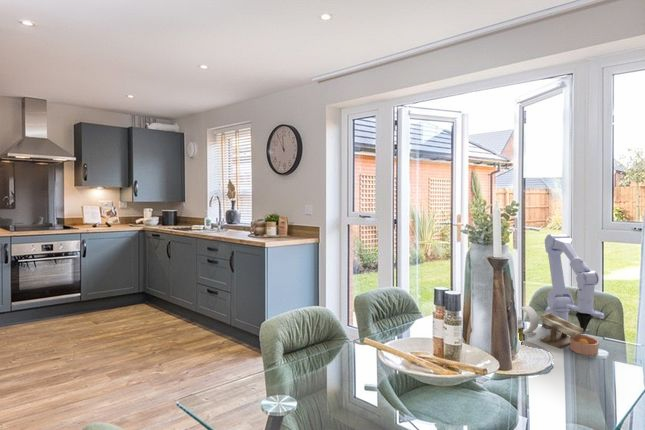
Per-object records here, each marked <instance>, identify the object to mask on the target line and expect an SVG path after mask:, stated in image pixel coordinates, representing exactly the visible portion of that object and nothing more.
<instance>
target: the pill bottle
mask: <svg viewBox="0 0 645 430" xmlns="http://www.w3.org/2000/svg"><path fill="white" fill-rule="evenodd" d="M517 317H518V333H519V340H520V341H522V340H524V339H523V338H524V334H523V330H524V325H523V322H522V321H523V319H522V318H521V317H520V316H517ZM522 342H523V341H522Z"/></svg>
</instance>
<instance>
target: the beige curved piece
mask: <svg viewBox="0 0 645 430" xmlns="http://www.w3.org/2000/svg"><path fill="white" fill-rule="evenodd" d="M539 320H541V328H544V329H545V330H547V331H549V330H551V326H554V327H557V331H558V330H559V332H560V333H561V332H563V333H565V334H567V336H569V337H570V336H571V337H573V338H574V337H577V336H579V335H586V334H587V333H589V332H590V329H589V328H586V330H585V331H583V328H581V327H580V325H579V326H578V325H576V324H574V323H572V322H570V321H569V320H568V321H566V320H564V319H562V318H559V317H557V316H555V315H553V314H552V313H551V312H548V313H546V314H545V313H543V314H541V315H540V319H539Z"/></svg>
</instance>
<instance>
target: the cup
mask: <svg viewBox="0 0 645 430" xmlns="http://www.w3.org/2000/svg"><path fill="white" fill-rule="evenodd" d="M569 337H570V345H569V350H571V351H573V352H574V353H577V354H579V355H584V356H596V355H598V354H599V345H600V343H599V340H598V339H596V338H594V337H592V336H588V335H586V334H581V335H579V336H577V337H574V338H573V337H571V336H569ZM579 339H585V340H587V342H588V344H583V343H580V342H577V341H578V340H579Z"/></svg>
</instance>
